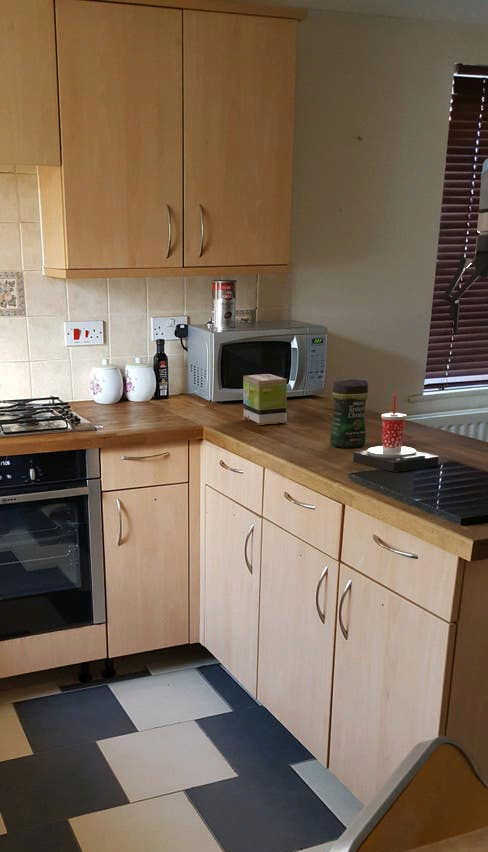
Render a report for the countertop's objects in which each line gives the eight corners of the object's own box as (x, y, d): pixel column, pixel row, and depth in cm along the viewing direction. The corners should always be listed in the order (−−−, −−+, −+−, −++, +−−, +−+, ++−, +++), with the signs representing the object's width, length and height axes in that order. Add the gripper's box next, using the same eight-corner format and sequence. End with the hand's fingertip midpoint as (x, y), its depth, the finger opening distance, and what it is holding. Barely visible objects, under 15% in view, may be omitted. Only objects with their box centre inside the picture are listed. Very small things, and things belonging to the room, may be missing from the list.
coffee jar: (339, 449, 243) (341, 381, 237) (326, 444, 250) (328, 378, 244) (370, 446, 245) (373, 379, 239) (356, 442, 252) (359, 376, 246)
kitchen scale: (438, 466, 219) (439, 453, 218) (393, 472, 214) (394, 459, 213) (395, 455, 233) (396, 443, 232) (353, 461, 227) (353, 449, 226)
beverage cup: (384, 447, 228) (387, 392, 223) (407, 449, 224) (411, 393, 220) (375, 451, 223) (378, 395, 218) (398, 453, 219) (402, 396, 215)
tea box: (242, 419, 296) (242, 375, 291) (270, 417, 299) (270, 373, 294) (258, 426, 282) (258, 379, 278) (287, 424, 285) (288, 377, 280)
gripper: (555, 231, 193) (544, 330, 200) (439, 236, 203) (432, 330, 210) (555, 230, 187) (543, 333, 194) (434, 235, 197) (427, 333, 204)
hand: (485, 332), depth 202 cm, fingers open, 13 cm apart
